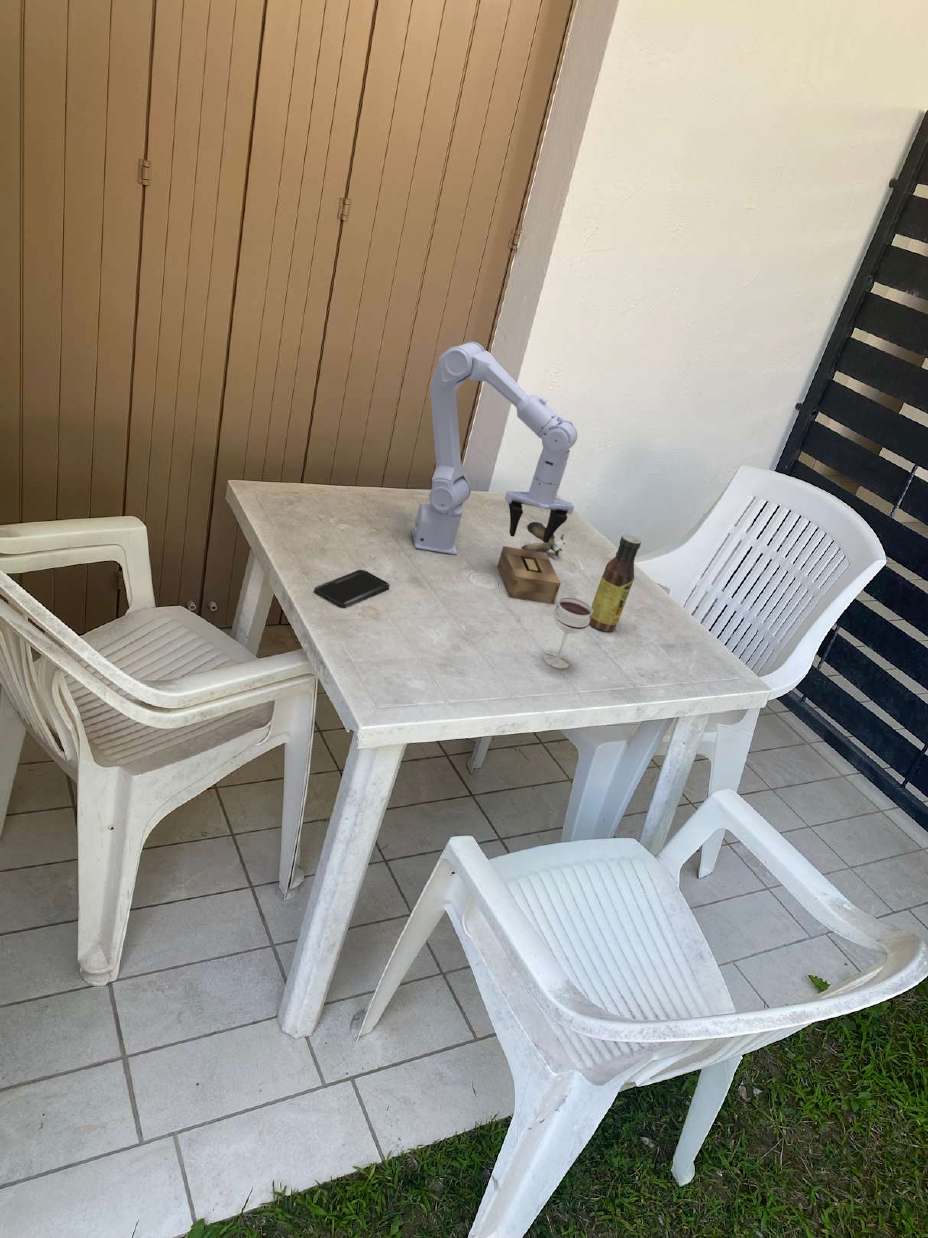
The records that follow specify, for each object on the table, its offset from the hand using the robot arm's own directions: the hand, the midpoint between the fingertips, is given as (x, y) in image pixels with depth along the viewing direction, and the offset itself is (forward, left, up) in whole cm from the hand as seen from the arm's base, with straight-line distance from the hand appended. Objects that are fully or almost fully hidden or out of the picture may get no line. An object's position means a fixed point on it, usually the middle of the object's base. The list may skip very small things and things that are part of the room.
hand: (528, 537), depth 199 cm
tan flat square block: (+1, -3, -10) cm, 10 cm away
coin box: (+1, -3, -10) cm, 10 cm away
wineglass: (+1, -33, -10) cm, 35 cm away
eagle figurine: (+9, +15, -10) cm, 21 cm away
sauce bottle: (+15, -16, -10) cm, 24 cm away
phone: (-37, -17, -10) cm, 42 cm away
